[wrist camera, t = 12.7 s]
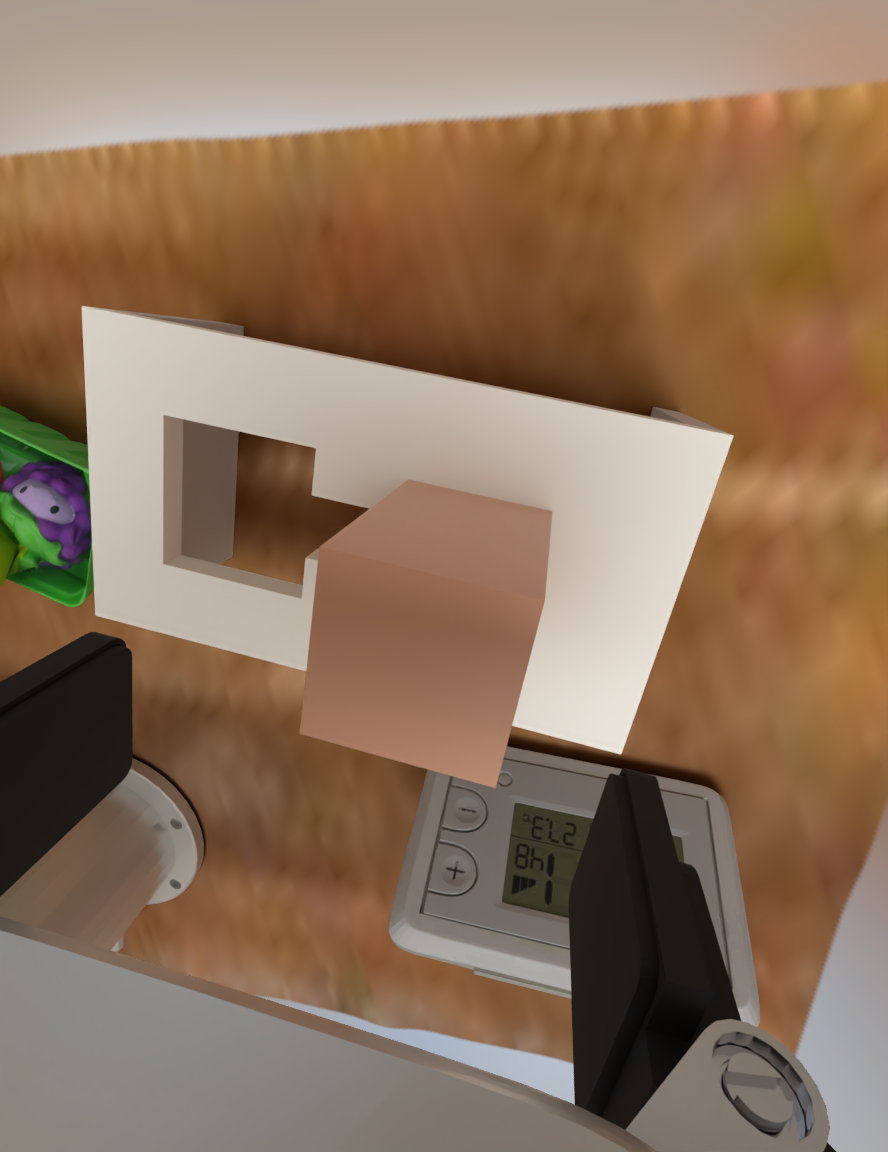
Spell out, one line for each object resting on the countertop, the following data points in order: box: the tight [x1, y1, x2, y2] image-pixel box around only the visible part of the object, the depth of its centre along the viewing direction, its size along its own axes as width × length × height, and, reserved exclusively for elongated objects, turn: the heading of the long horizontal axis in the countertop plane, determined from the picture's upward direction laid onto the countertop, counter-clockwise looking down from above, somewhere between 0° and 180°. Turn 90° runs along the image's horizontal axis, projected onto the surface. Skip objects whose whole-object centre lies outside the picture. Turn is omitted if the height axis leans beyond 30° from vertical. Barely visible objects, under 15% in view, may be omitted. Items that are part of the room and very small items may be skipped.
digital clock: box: [389, 746, 760, 1027], centre depth 29 cm, size 16×9×11 cm, turn 73°
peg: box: [300, 480, 552, 788], centre depth 19 cm, size 5×5×11 cm
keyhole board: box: [82, 306, 733, 754], centre depth 26 cm, size 12×22×9 cm, turn 80°
